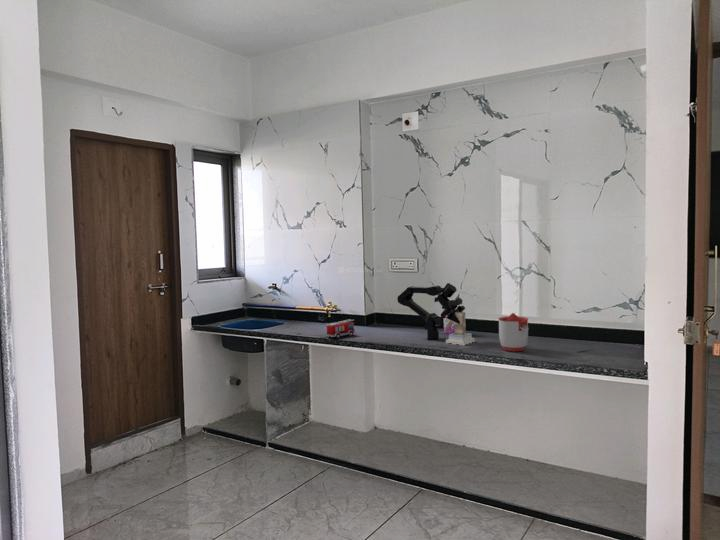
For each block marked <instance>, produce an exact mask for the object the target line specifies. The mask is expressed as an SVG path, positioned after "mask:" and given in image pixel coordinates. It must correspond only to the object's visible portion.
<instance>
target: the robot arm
mask: <svg viewBox="0 0 720 540" xmlns="http://www.w3.org/2000/svg"><path fill="white" fill-rule="evenodd" d="M456 292H457V287H456V286H454V285H452V284H451V283H450V282H447V283H446V284H445V286H444V287H441V285H433V286H414V285H412V286H407V288H406V289H404V291H402V292H401V293H400V294H399V295H397V298H396V299H397V303H398V304H400V305H402V306H405V307H407V308H409V309H410V310H411V311H413V312H415V314H417V315H418V316H420V317H421V318H422V319H424V322H425V324H424V326H423V327H424V330H426V339H427V340H428V341H434V340H439V338H440V337H439V331H438V330H439V328H440V326H441V325H442V320H444V318H446V315H447V316H448V317H447V319H449V320H452V321H454V322H456V323H458V324H460V321H459V320H458V318H457V317H456V315H455V312H464V311H465V310H466V307H465V306H464V305H462V304H463V299H462V298H461V297H458V298H455V299H454V300H450V298H452V297H453V296H454V294H455V293H456ZM414 294H426V295H428V296H432V297H434V303H439V304H440V306H441V309H442V310H443V309H445V310H444V311H442V312H441V313H440V315H438V314H437V313H435V312H432V313H429V311H428V310H426V309H424V308H423V307H422V306H421V305H420V304H418V303H416V302H415V301H414V299H413V296H414Z"/></svg>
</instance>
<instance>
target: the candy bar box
mask: <svg viewBox="0 0 720 540" xmlns="http://www.w3.org/2000/svg"><path fill="white" fill-rule="evenodd" d="M442 310H443V311H444V310H445V309H442ZM443 311H442V312H443ZM447 317H448V316H447V315H446V318H444V319H443V334H445V333H446V334H445V335H449V334H453V333H455V323H454V321H452V320H449V319H447Z"/></svg>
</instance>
